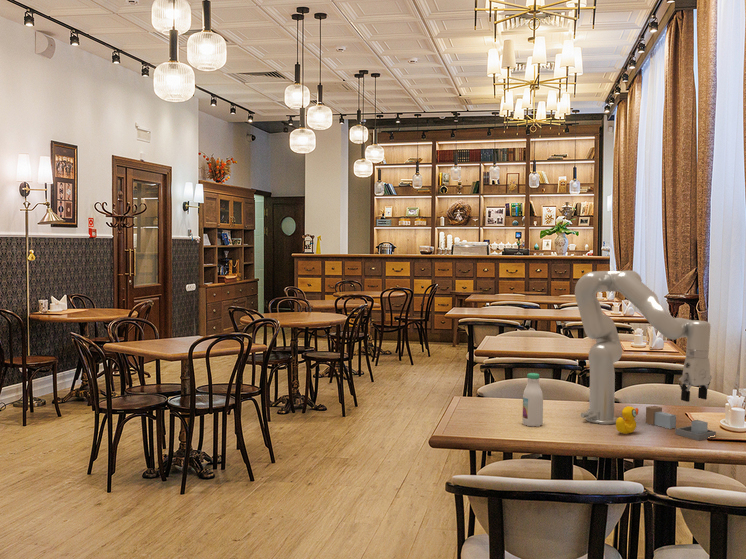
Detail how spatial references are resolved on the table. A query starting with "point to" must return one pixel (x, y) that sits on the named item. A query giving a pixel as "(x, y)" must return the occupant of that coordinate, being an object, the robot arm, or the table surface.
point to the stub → (699, 427)
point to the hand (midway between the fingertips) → (693, 399)
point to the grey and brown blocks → (660, 417)
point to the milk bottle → (533, 401)
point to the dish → (687, 433)
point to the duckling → (627, 420)
